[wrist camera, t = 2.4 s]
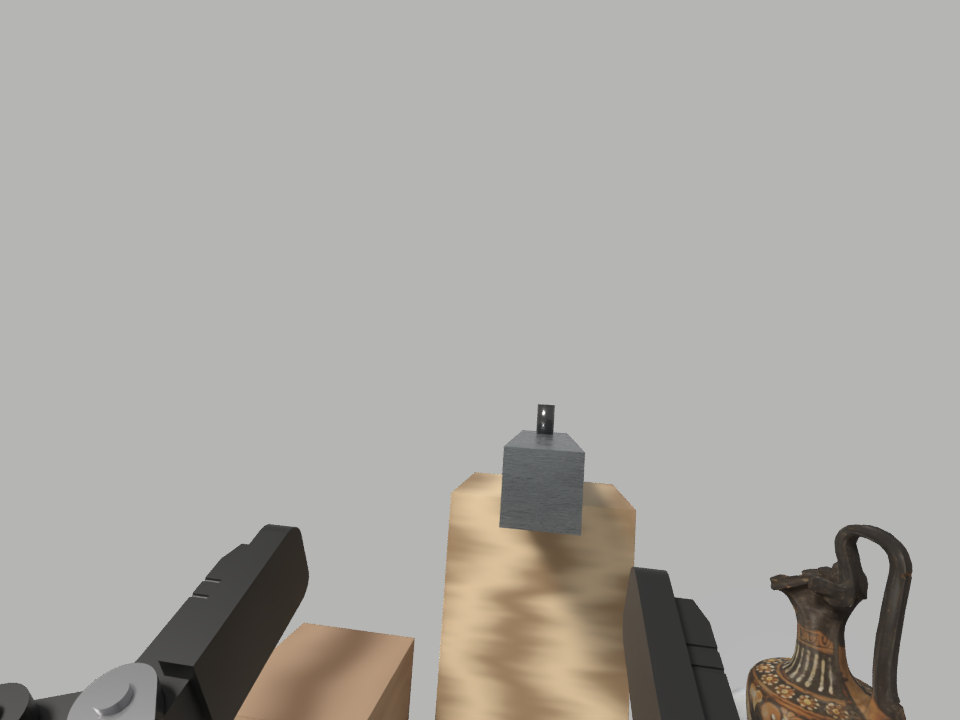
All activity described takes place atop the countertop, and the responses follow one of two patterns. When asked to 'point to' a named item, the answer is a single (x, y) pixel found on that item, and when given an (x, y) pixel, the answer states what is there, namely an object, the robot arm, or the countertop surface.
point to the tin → (542, 480)
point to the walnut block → (333, 677)
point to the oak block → (534, 611)
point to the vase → (835, 641)
